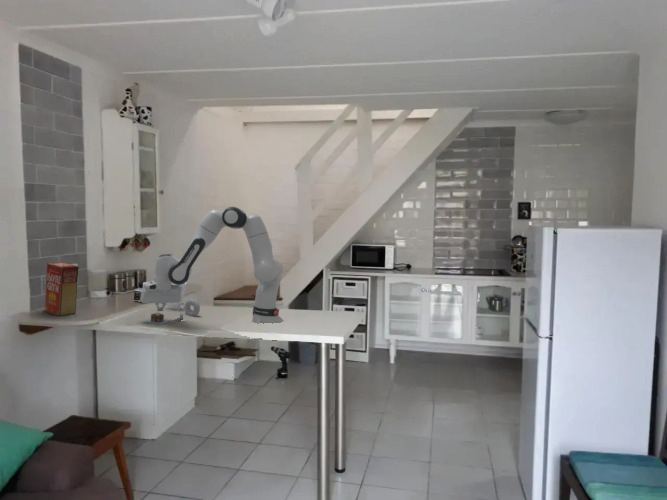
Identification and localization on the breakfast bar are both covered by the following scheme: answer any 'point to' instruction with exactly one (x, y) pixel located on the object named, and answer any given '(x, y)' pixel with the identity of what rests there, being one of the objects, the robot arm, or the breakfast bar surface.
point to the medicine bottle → (139, 291)
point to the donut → (195, 305)
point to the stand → (179, 318)
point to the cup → (178, 304)
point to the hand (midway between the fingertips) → (159, 310)
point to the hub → (157, 322)
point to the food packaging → (61, 288)
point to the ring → (157, 318)
